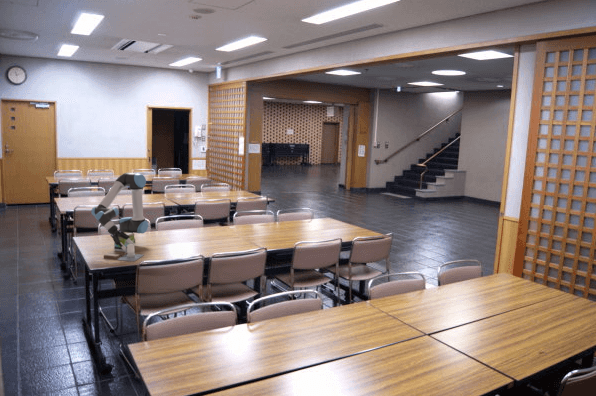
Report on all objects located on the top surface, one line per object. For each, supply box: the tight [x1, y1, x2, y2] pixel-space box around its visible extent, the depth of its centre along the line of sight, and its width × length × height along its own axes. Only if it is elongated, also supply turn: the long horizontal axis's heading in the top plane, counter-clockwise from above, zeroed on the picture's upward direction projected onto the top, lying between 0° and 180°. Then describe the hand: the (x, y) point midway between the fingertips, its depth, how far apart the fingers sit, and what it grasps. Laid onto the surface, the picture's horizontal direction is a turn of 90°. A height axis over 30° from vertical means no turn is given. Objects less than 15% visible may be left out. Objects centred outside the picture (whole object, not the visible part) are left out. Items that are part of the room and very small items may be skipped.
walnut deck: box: [103, 250, 126, 260], centre depth 377 cm, size 14×11×2 cm
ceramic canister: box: [126, 243, 136, 258], centre depth 375 cm, size 6×6×10 cm
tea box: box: [113, 232, 135, 254], centre depth 393 cm, size 15×10×15 cm, turn 168°
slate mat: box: [116, 253, 145, 262], centre depth 375 cm, size 18×14×1 cm
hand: (129, 247), depth 374 cm, fingers open, 13 cm apart
